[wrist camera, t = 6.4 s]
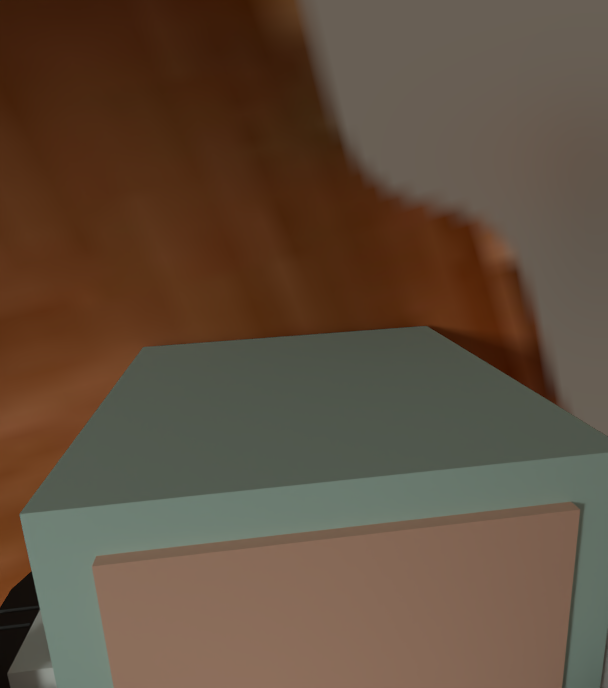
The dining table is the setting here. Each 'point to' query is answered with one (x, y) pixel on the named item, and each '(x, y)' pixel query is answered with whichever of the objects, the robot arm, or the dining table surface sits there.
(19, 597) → the robot arm
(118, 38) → the dining table surface
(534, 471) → the retro monitor box
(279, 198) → the dining table surface
